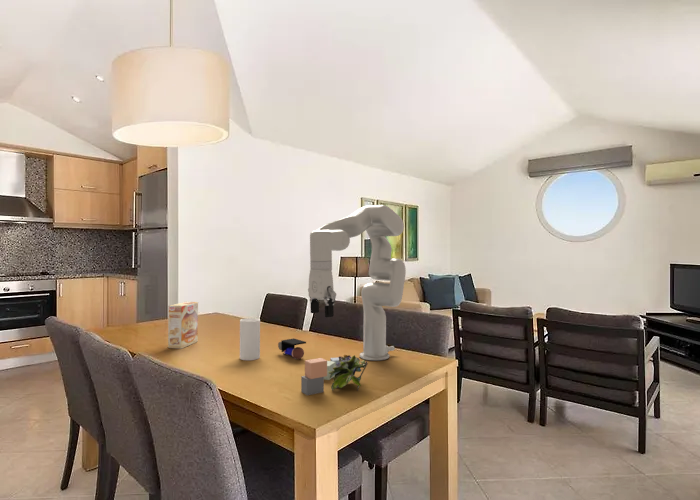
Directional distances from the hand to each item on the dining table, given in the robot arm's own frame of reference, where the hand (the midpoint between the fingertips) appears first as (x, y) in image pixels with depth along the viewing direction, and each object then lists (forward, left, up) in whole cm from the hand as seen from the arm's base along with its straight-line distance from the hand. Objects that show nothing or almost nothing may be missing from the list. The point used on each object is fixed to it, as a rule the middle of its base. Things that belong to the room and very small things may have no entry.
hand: (321, 314), depth 149 cm
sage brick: (-4, -2, -23) cm, 23 cm away
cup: (+10, -42, -23) cm, 49 cm away
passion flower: (-4, +12, -23) cm, 26 cm away
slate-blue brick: (-11, -5, -23) cm, 26 cm away
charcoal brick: (+8, +9, -23) cm, 26 cm away
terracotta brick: (+7, +9, -18) cm, 21 cm away
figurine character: (-6, -35, -23) cm, 42 cm away
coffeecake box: (+28, -81, -23) cm, 89 cm away
